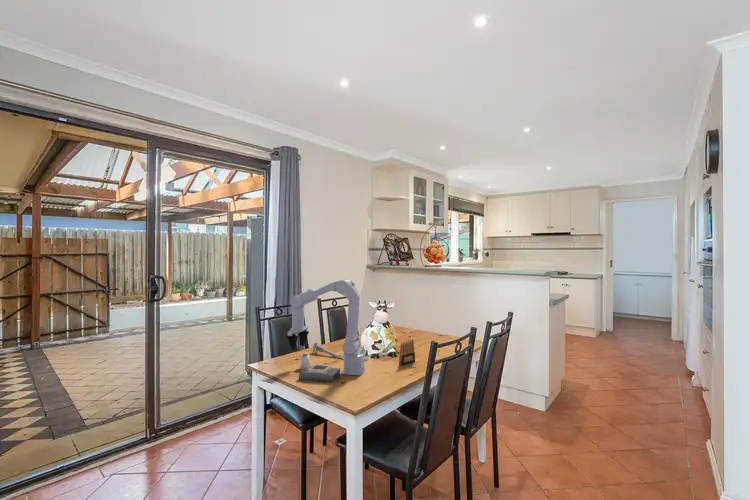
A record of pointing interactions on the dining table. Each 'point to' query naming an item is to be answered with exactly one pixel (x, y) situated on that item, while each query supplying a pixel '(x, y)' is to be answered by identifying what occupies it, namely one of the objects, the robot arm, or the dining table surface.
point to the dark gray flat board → (319, 373)
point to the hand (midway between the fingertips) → (297, 347)
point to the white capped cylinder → (305, 360)
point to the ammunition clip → (407, 353)
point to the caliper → (323, 350)
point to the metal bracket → (361, 351)
